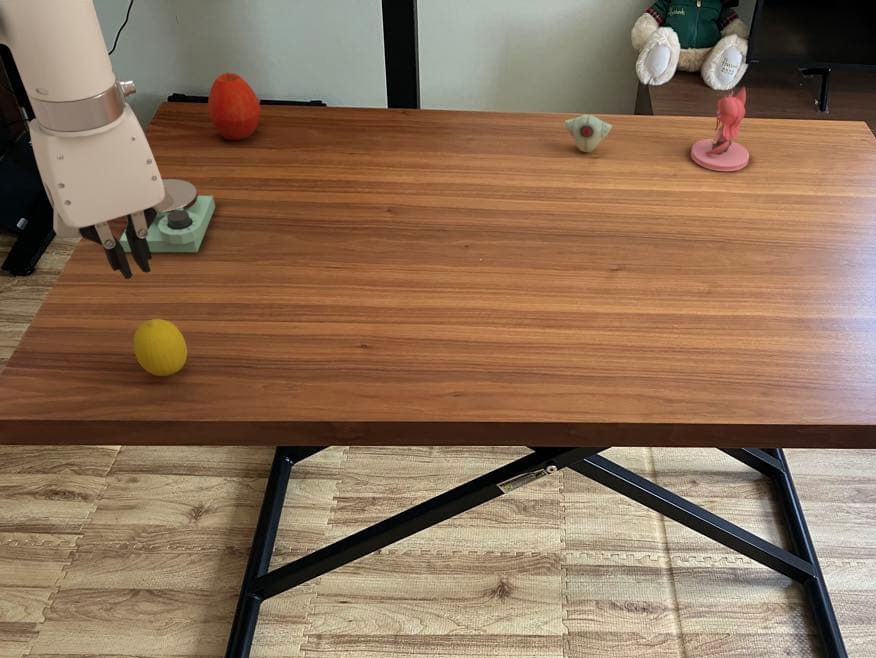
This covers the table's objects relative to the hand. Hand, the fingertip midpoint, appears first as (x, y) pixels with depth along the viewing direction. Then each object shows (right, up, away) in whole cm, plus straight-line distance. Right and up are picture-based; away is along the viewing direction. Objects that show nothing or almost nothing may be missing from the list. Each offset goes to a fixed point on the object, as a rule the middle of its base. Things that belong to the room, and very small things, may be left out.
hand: (133, 268), depth 93 cm
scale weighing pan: (-10, +15, +31) cm, 36 cm away
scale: (-10, +11, +33) cm, 36 cm away
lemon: (-1, -11, +11) cm, 15 cm away
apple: (-7, +31, +54) cm, 62 cm away
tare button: (-6, +10, +28) cm, 30 cm away
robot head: (+51, +28, +54) cm, 80 cm away
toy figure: (+74, +27, +55) cm, 96 cm away
